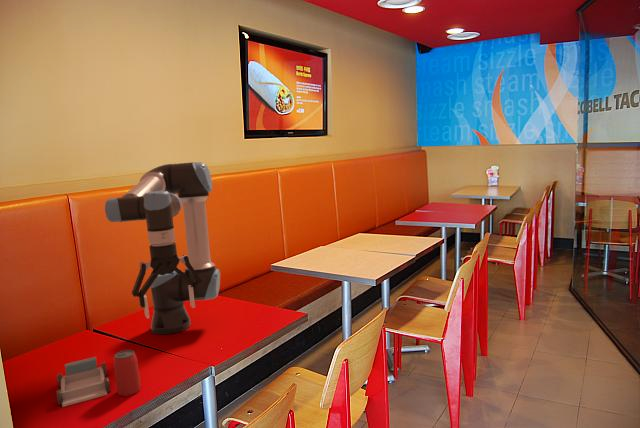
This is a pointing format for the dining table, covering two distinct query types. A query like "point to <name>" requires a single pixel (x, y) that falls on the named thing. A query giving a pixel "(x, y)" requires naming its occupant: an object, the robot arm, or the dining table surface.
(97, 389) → the chassis
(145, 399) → the dining table surface
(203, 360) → the dining table surface
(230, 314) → the dining table surface
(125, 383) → the beer can
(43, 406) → the dining table surface
